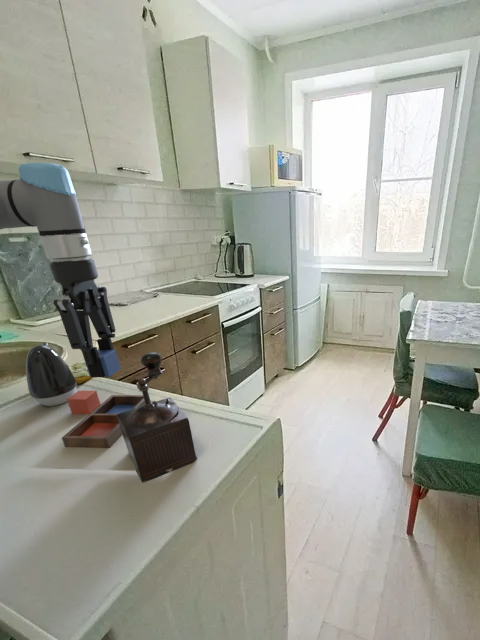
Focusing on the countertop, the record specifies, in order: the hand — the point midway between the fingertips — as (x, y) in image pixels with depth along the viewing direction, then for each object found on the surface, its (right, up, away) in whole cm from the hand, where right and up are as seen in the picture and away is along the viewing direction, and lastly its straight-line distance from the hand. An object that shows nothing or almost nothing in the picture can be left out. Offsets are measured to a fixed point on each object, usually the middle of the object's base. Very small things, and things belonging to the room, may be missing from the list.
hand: (105, 371), depth 77 cm
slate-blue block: (0, 0, 0) cm, 0 cm away
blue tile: (+1, -10, +5) cm, 11 cm away
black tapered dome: (-19, -7, +14) cm, 25 cm away
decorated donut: (-22, -1, +27) cm, 35 cm away
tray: (+1, -12, +2) cm, 12 cm away
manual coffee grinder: (+15, -16, -8) cm, 23 cm away
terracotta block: (-9, -9, +8) cm, 15 cm away
